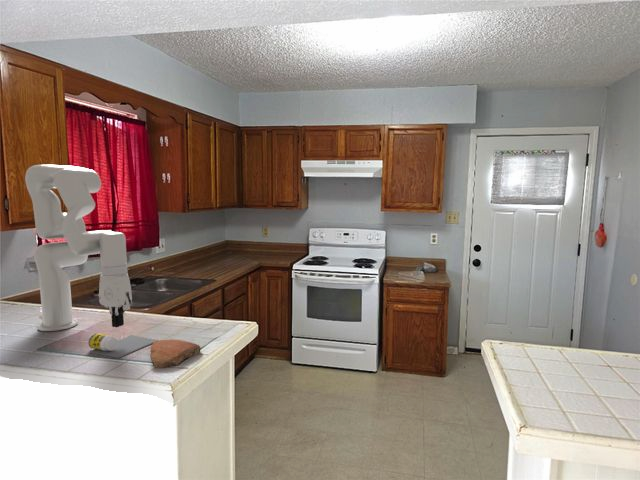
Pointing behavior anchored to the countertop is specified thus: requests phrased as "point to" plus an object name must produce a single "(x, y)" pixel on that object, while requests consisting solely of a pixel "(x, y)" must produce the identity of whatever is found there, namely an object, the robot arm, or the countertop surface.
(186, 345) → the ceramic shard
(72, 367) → the countertop surface
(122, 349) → the mat
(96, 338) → the supplement bottle
